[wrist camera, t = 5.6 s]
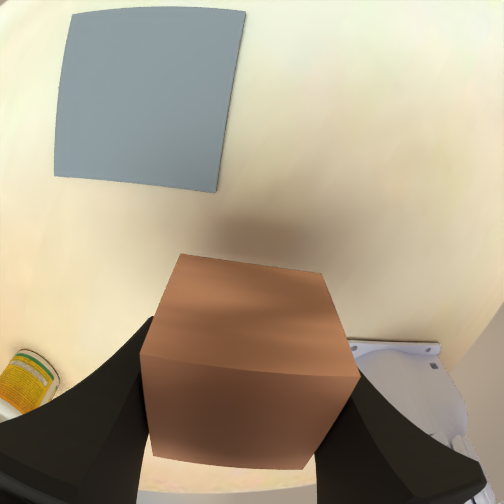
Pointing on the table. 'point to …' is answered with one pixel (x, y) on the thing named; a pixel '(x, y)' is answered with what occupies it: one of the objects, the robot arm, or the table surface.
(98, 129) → the mat
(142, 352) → the cube
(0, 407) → the supplement bottle
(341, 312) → the table surface
